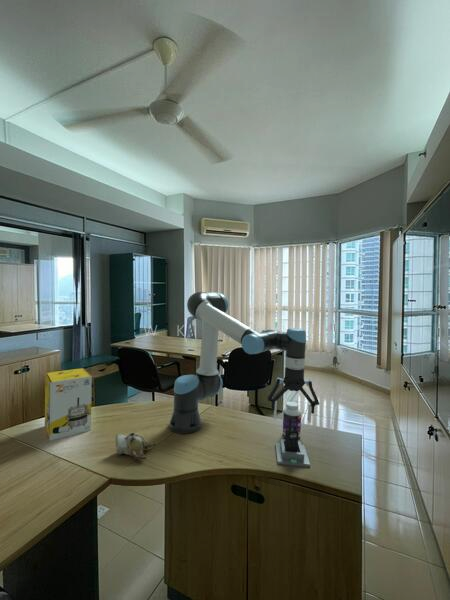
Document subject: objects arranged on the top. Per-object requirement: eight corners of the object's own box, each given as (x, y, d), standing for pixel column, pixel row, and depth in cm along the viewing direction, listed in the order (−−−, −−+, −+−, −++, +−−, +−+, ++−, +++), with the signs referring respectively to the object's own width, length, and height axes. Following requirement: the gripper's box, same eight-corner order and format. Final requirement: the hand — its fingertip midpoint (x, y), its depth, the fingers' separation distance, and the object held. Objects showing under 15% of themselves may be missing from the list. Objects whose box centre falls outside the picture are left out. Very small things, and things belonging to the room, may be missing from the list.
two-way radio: (286, 456, 112) (287, 418, 112) (281, 450, 116) (283, 413, 116) (299, 455, 113) (300, 417, 113) (294, 449, 118) (295, 413, 117)
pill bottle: (300, 440, 127) (302, 408, 126) (282, 438, 128) (283, 406, 128) (299, 431, 135) (300, 401, 134) (282, 429, 136) (283, 399, 136)
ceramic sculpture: (123, 424, 119) (157, 430, 116) (121, 444, 119) (155, 450, 117) (109, 437, 108) (146, 443, 106) (107, 459, 108) (144, 466, 106)
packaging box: (49, 440, 120) (50, 382, 120) (44, 426, 133) (45, 373, 132) (91, 430, 131) (91, 376, 130) (82, 417, 143) (83, 368, 143)
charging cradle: (277, 464, 109) (278, 455, 108) (275, 444, 122) (275, 436, 122) (310, 467, 107) (310, 457, 107) (303, 447, 121) (304, 439, 121)
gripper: (263, 367, 112) (260, 420, 112) (329, 372, 109) (326, 426, 110) (263, 362, 119) (260, 412, 120) (324, 367, 116) (321, 418, 117)
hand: (291, 419), depth 115 cm, fingers open, 13 cm apart
